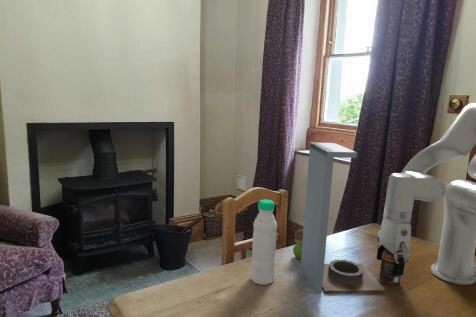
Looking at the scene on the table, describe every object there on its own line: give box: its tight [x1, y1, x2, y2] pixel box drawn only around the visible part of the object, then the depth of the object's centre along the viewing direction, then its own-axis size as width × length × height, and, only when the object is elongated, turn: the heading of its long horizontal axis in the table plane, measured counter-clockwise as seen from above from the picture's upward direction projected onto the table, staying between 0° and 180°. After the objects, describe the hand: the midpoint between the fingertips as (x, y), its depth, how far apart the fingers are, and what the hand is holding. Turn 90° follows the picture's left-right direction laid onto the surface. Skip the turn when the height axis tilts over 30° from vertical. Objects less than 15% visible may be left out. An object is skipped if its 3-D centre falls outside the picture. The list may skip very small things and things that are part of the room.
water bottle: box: [250, 199, 278, 286], centre depth 105 cm, size 7×7×25 cm
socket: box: [322, 259, 386, 295], centre depth 109 cm, size 18×16×4 cm
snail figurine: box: [292, 229, 303, 260], centre depth 121 cm, size 5×6×12 cm
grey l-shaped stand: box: [300, 141, 358, 295], centre depth 105 cm, size 8×17×42 cm, turn 5°
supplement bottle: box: [379, 249, 402, 286], centre depth 109 cm, size 6×6×11 cm
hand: (389, 267), depth 109 cm, fingers open, 9 cm apart
